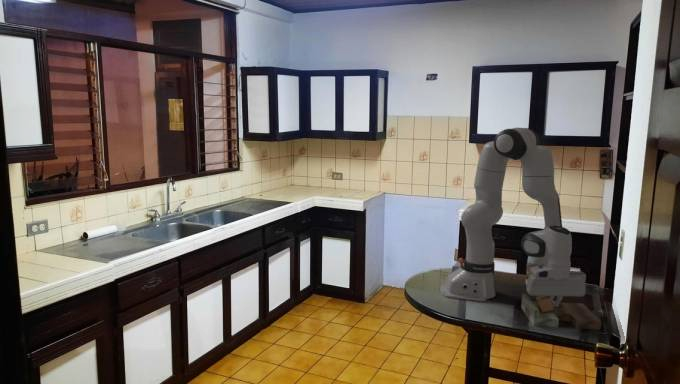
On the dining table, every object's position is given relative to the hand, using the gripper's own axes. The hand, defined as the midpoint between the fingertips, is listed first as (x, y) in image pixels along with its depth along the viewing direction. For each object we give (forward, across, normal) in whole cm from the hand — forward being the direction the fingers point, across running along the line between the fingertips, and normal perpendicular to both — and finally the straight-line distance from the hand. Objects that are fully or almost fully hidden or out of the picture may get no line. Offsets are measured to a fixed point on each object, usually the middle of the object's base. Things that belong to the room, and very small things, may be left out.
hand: (554, 306), depth 179 cm
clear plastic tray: (+5, -2, -1) cm, 5 cm away
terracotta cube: (+1, +3, 0) cm, 3 cm away
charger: (+4, +24, -50) cm, 55 cm away
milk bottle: (+4, -4, -35) cm, 35 cm away
